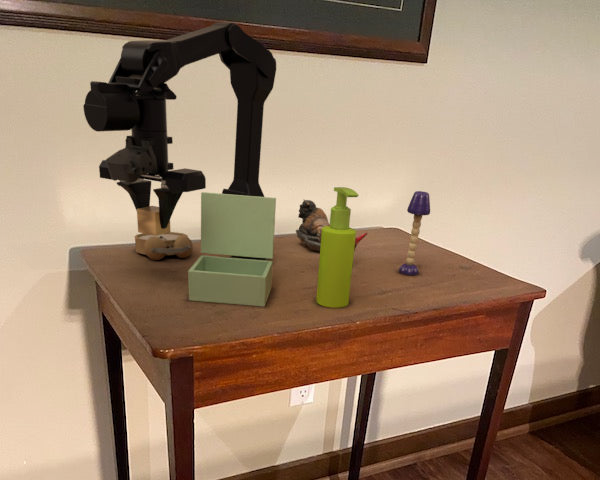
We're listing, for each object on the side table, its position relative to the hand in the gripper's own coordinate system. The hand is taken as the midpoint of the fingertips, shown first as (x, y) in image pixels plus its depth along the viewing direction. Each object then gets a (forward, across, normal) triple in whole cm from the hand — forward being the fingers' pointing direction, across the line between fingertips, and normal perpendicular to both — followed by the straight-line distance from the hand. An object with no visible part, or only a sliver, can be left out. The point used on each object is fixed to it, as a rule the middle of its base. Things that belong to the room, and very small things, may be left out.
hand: (154, 226), depth 108 cm
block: (+1, 0, 0) cm, 1 cm away
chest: (+11, +13, +5) cm, 18 cm away
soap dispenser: (+11, +30, +12) cm, 35 cm away
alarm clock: (+11, -13, +18) cm, 25 cm away
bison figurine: (+11, +9, +45) cm, 47 cm away
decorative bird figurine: (+11, +22, +34) cm, 42 cm away
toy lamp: (+11, +35, +40) cm, 54 cm away
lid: (0, +11, +10) cm, 15 cm away
